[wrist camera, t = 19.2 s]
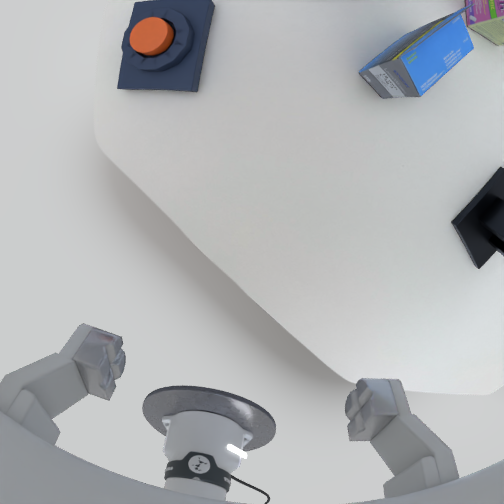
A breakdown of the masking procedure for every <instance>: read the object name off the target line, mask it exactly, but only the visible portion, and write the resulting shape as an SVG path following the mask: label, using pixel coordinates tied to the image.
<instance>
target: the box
mask: <svg viewBox="0 0 504 504" xmlns="http://www.w3.org/2000/svg"><path fill="white" fill-rule="evenodd" d="M465 2H466V7H467V6H469V5H471V4H473V3H474V5H473V6H471V7H470V8H468V9H467V10H466V13H467V26H468V27H469V28H471V29H473V30H474V31H476V32H478V33H479V34H481V35H482V36H484V37H485V38H487V39H489V40H490V41H492V42H493V43H495V44H496V45H497V46H500V45H504V0H465Z"/></svg>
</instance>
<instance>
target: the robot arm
mask: <svg viewBox="0 0 504 504" xmlns="http://www.w3.org/2000/svg"><path fill="white" fill-rule="evenodd" d="M122 345H123V341H122V337H120V336H118V335H115V334H112V333H109V332H106V331H103V330H101V329H98V328H95V327H92V326H90V325H86V324H84V323H83V324H81V325H79V327H78V328H77V329H76V331H75V332H74V333H73V335H72V336H71V337H70V339H69V340H68V342H67V343H66V344H65V346H64V347H63V349H62V350H61V352H60V353H59V354H57V353H54V354H52V355H49V356H47V357H45V358H43V359H41V360H38V361H36V362H34V363H32V364H30V365H27V366H25V367H23V368H21V369H18V370H16V371H14V372H12V373H9V374H7V375H6V376H5V377H4V378H3V380H2V381H1V383H0V504H245V503H236V502H228V501H225V500H226V493H227V492H228V491H229V487H230V484H231V478H232V479H234V480H236V481H238V482H240V483H242V484H244V485H246V486H248V487H250V488H253V489H255V490H257V491H259V492H261V493H263V494H264V495H266V496H267V498H268V500H267V502H266V503H265V504H267V503H268V502H269V501H270V497H269V495H268V494H267V493H265V492H264V491H262V490H260V489H258V488H256V487H254V486H252V485H250V484H247V483H245V482H243V481H241V480H239V479H237V478H235V477H234V476H232V475H231V473H232V472H233V471H234V470H236V469H237V468H238V467H240V464H241V457H242V456H243V457H245V458H246V456H247V454H246V453H245V452H243V451H242V450H243V447H244V446H245V445H246V444H247V443H248V442H249V441H250V440H251V439H252V438H253V433H251V432H249V431H247V430H245V429H243V428H242V427H241V426H240V425H239V424H237V423H236V422H235V421H233V420H231V419H229V418H227V417H224V416H221V415H218V414H214V413H210V412H204V411H183V412H180V413H177V414H175V415H169V416H163V417H162V422H163V424H164V426H165V428H166V430H167V434H166V438H165V443H164V447H163V452H164V453H165V456H166V457H167V458H168V460H169V462H168V464H167V468H166V469H165V477H164V478H165V480H166V482H165V487H164V488H160V487H156V486H153V485H149V484H146V483H143V482H140V481H137V480H134V479H131V478H128V477H125V476H122V475H120V474H117V473H114V472H112V471H109V470H106V469H104V468H101V467H99V466H97V465H94V464H92V463H90V462H87V461H85V460H83V459H81V458H79V457H77V456H75V455H73V454H71V453H69V452H67V451H65V450H63V449H61V448H59V447H57V446H55V443H56V441H57V439H58V436H59V434H60V431H59V428H58V427H57V426H56V424H55V423H54V422H53V420H52V419H53V418H54V417H56V416H57V415H59V414H60V413H62V412H63V411H65V410H66V409H68V408H69V407H71V406H72V405H74V404H75V403H76V402H78V401H79V400H81V399H82V398H84V397H85V396H87V395H88V393H89V394H92V395H95V396H97V397H100V398H103V399H106V400H110V398H111V396H112V394H113V392H114V389H115V388H116V385H115V381H114V380H115V379H118V378H120V377H121V375H122V373H123V371H124V367H125V360H126V357H125V352H124V351H123V350H122V349H121V347H122ZM356 387H357V389H355V390H353V391H352V392H350V394H349V395H348V397H347V400H346V404H345V412H346V416H347V417H348V418H349V420H350V423H349V424H348V426H347V427H348V432H349V440H350V441H370V443H371V444H372V445H373V447H374V448H375V449H376V451H377V452H378V454H379V455H380V456H381V458H382V459H383V460H384V462H385V463H386V465H387V466H388V467H389V468H390V470H391V471H392V473H393V474H394V475H395V477H393V478H392V479H390V480H389V481H387V482H386V483H385V484H384V485H383V487H384V495H385V498H384V499H378V500H371V501H365V502H357V503H348V504H504V460H502V461H500V462H498V463H495V464H493V465H491V466H489V467H487V468H484V469H482V470H480V471H477V472H475V473H472V474H470V475H467V476H464V477H462V478H459V475H458V471H457V467H456V463H455V460H454V456H453V453H452V450H451V449H450V448H449V447H448V446H447V445H446V444H445V443H444V442H443V441H442V440H441V439H440V438H439V437H438V436H437V435H435V434H434V433H433V432H432V431H431V430H430V429H429V428H428V427H427V426H426V425H425V424H424V423H423V422H422V421H421V420H420V419H419V418H418V417H417V416H416V415H414V414H411V411H410V408H409V405H408V401H407V398H406V396H405V392H404V389H403V386H402V383H401V381H400V380H399V379H373V378H362V379H360V380H359V381H358V382H357V384H356Z"/></svg>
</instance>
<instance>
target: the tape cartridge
mask: <svg viewBox="0 0 504 504" xmlns="http://www.w3.org/2000/svg"><path fill="white" fill-rule="evenodd" d="M473 5H474V3H473V4H471V5H469V6H467V7H465V8H463V9H461V10H459V11H457V12H455V13H452V14H450V15H448V16H445V17H443V18H441V19H438V20H436V21H433V22H431V23H429V24H427V25H425V26H422V27H420V28H418V29H416V30H414V31H412V32H410V33H408V34H406V35H404V36H403V37H402V38H400V39H399V40H397V41H396V42H395V43H393V44H392V45H391V46H390V47H388V48H387V49H386V50H384V51H383V52H382V53H381V54H379V55H378V56H377V57H376V58H374V59H373V60H372V61H371V62H370V63H368V64H367V65H366V66H365V67H364V68H362V69H361V70H360V71H359V74H360V75H361V76H362V77H363V78H364V79H365V80H366V81H367V82H368V83H369V84H370V86H371V87H372V88H373V89H374V90H375V91H376V92H377V93H378V94H379V96H380V97H381V98H383V99H385V98H397V97H420V96H422V95H423V94H424V93H425V92H426V91H427V90H428V89H429V88H430V87H431V86H433V85H434V84H435V83H436V82H437V81H438V80H439V79H440V78H441V77H442V76H443V75H445V74H446V73H447V72H448V71H449V70H450V69H451V68H452V67H453V66H455V65H456V64H457V63H458V62H459V61H460V60H461V59H462V58H463V57H465V56H466V55H467V54H468V53H469V52H470V51H471V50H472V49H474V47H473V44H472V41H471V38H470V36H469V33H468V31H467V29H466V26H465V24H464V21H463V19H462V16H461V13H463V12H464V11H466V10H467V9H468V8H470V7H471V6H473Z"/></svg>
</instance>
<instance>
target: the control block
mask: <svg viewBox="0 0 504 504" xmlns="http://www.w3.org/2000/svg"><path fill="white" fill-rule="evenodd" d="M214 7H215V5H214V3H213V2H212V0H152V1H142V2H135V4H134V8H133V12H132V16H131V19H130V24H129V27H128V28H127V30H126V31H125V33H124V38H123V42H122V51H123V56H122V62H121V68H120V74H119V80H118V87H117V89H126V90H175V91H191V92H197V91H198V86H199V80H200V74H201V69H202V63H203V58H204V53H205V48H206V43H207V38H208V34H209V29H210V25H211V20H212V16H213V12H214ZM149 17H158V18H161V19H162V20H164V21H165V22H166V23H168V24H169V25H170V26H171V27H172V29H173V32H174V37H173V41H172V43H171V45H170V46H169V47H168V48H167V49H166V50H165V51H164V52H162V53H160V54H157V55H152V56H150V55H145V54H143V53H140V52H137V51H136V50H134V49H133V48H132V46H131V44H130V34H131V32H132V30H133V28H134V27H135V26H136V25H137V24H138V23H139V22H140V21H142V20H144V19H146V18H149Z"/></svg>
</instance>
